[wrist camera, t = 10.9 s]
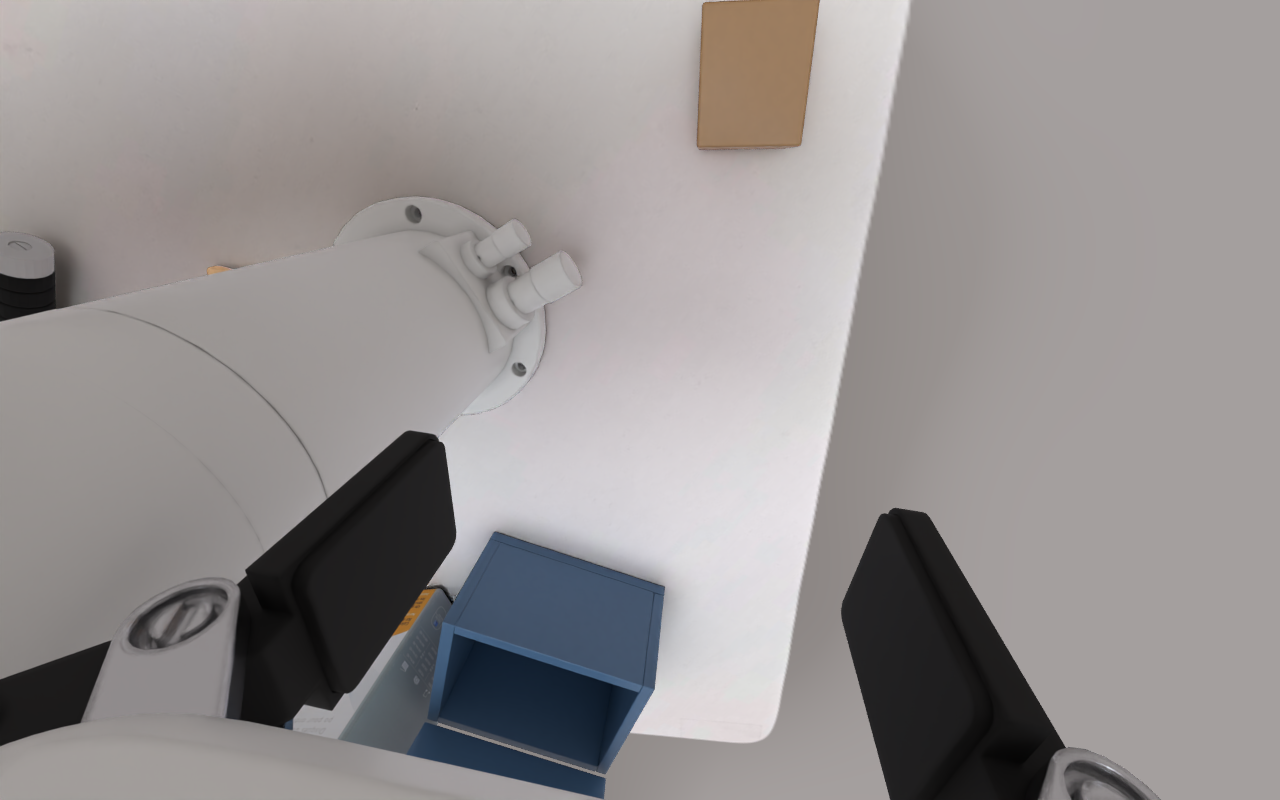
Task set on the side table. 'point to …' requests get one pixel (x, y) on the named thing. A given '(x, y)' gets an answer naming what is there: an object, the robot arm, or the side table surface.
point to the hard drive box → (389, 686)
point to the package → (755, 73)
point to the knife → (25, 275)
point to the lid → (501, 761)
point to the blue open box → (548, 653)
